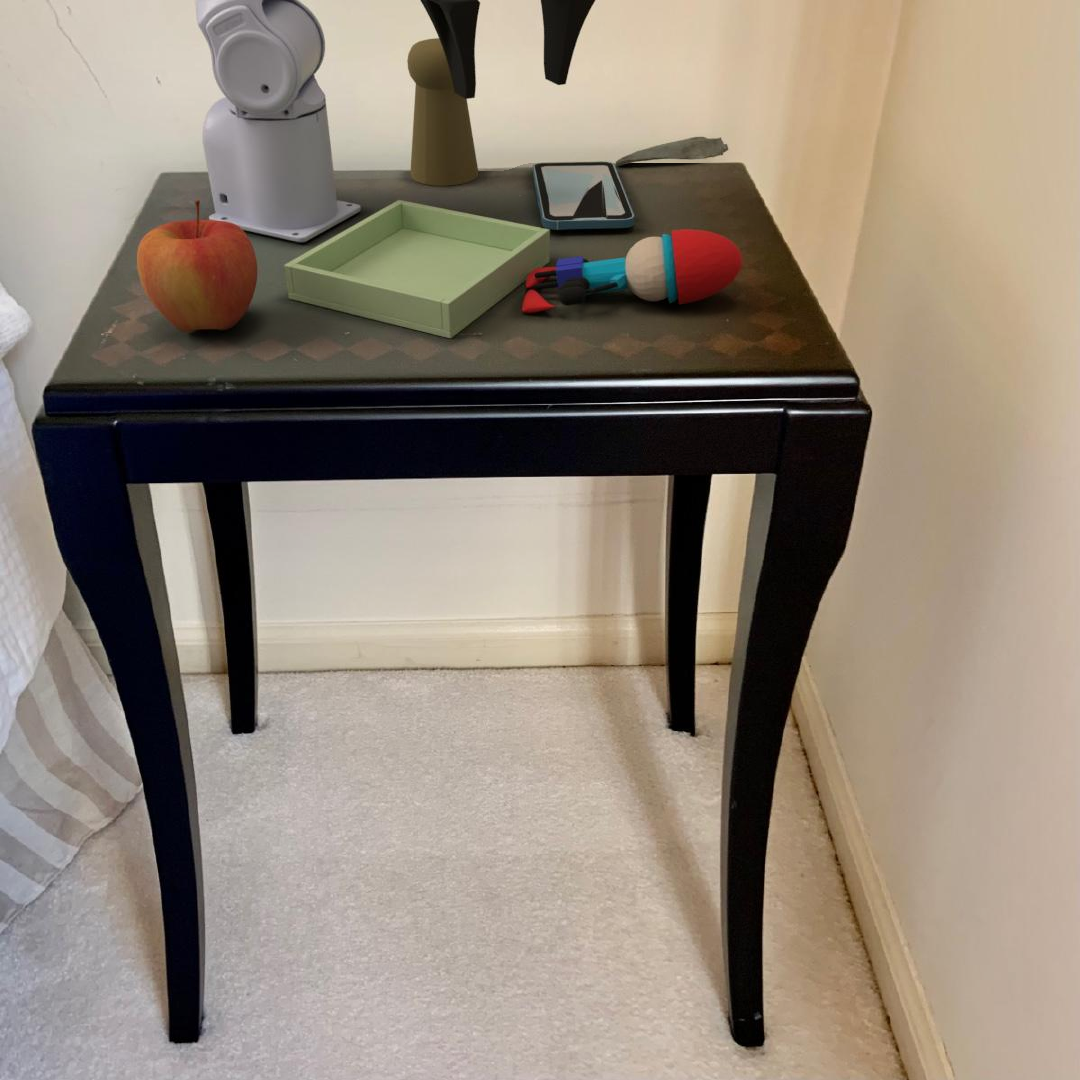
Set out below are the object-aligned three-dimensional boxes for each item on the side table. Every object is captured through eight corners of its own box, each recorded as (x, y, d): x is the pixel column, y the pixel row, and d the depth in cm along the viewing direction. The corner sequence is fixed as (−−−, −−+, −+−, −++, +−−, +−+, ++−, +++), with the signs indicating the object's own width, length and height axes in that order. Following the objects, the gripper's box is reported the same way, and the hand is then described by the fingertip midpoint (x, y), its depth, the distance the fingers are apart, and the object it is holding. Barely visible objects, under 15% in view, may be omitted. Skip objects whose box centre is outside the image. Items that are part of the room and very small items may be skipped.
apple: (136, 350, 70) (106, 229, 65) (174, 301, 76) (149, 187, 71) (248, 354, 70) (227, 232, 65) (278, 304, 75) (261, 189, 71)
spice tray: (288, 298, 76) (283, 264, 75) (401, 230, 86) (398, 199, 85) (450, 339, 71) (448, 303, 70) (549, 261, 81) (550, 229, 80)
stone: (623, 159, 96) (602, 140, 100) (623, 177, 97) (602, 157, 101) (736, 142, 99) (712, 124, 103) (735, 159, 100) (710, 140, 104)
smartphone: (614, 161, 97) (637, 219, 85) (613, 172, 98) (636, 231, 85) (531, 162, 97) (542, 221, 85) (531, 173, 97) (542, 233, 85)
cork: (449, 158, 100) (443, 28, 93) (492, 174, 97) (489, 41, 90) (396, 173, 97) (386, 40, 90) (438, 190, 93) (431, 53, 87)
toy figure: (525, 340, 74) (748, 312, 72) (512, 270, 72) (743, 238, 69) (534, 301, 81) (740, 274, 78) (523, 235, 78) (735, 205, 76)
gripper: (434, -112, 67) (445, 115, 76) (632, -125, 73) (622, 88, 81) (389, -124, 72) (404, 90, 80) (578, -135, 78) (574, 66, 86)
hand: (510, 88), depth 81 cm, fingers open, 7 cm apart
